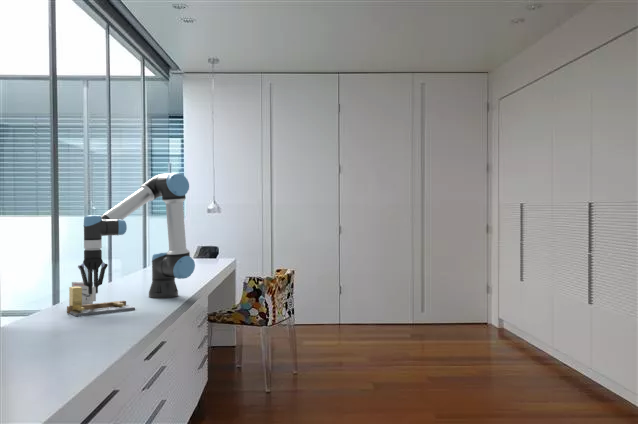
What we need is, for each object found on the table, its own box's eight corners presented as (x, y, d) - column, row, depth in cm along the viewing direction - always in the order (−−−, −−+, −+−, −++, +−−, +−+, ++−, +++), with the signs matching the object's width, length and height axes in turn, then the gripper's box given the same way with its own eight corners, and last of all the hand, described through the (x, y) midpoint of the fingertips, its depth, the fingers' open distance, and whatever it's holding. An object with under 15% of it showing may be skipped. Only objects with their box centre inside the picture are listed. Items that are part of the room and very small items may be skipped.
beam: (124, 306, 276) (124, 300, 276) (132, 309, 269) (132, 302, 269) (66, 312, 259) (66, 306, 259) (73, 315, 252) (73, 308, 252)
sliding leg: (78, 310, 263) (78, 286, 263) (86, 313, 255) (86, 288, 255) (69, 311, 261) (69, 287, 261) (76, 314, 253) (77, 289, 253)
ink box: (70, 307, 274) (70, 282, 274) (76, 305, 279) (76, 280, 279) (88, 307, 273) (88, 282, 273) (93, 305, 278) (93, 281, 278)
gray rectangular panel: (128, 307, 272) (128, 304, 272) (135, 310, 266) (135, 306, 266) (70, 314, 256) (70, 310, 255) (76, 316, 249) (76, 313, 249)
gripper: (104, 248, 272) (104, 298, 272) (75, 249, 264) (75, 301, 264) (110, 249, 267) (110, 300, 267) (80, 250, 258) (81, 303, 258)
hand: (93, 301), depth 265 cm, fingers closed
